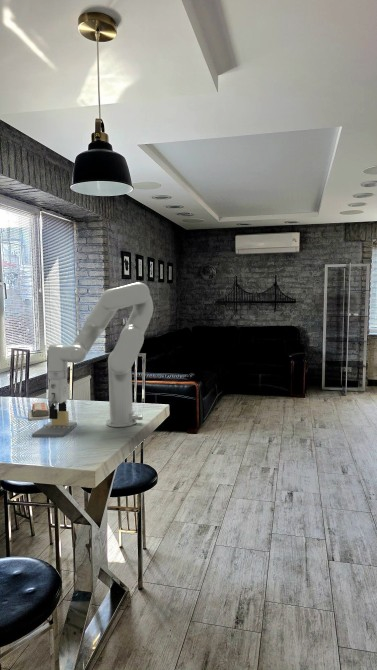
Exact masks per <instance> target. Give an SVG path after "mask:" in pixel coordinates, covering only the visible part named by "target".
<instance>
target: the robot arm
mask: <svg viewBox="0 0 377 670" xmlns="http://www.w3.org/2000/svg"><path fill="white" fill-rule="evenodd" d="M153 302H154V301H153V299H152V296H151V291H150V288H149V286H148V285H147V284H145V283H143V282H139V281H138V282H134V283H133V282H132V283H130V284H126V285H122V286H119V287H114V288H109V289H106V290H104V291H103V292H102V294H101V296H100V298H99V299H98V301H97V302H96V304H95V305H94V306H93V308H92V310H91V312H90V313H89V314H88V316H87V317H86V318H85V321H84V323H83V326H82V328H81V330H80V332H79V333H78V335H77V336H76V338H75V339H74V341H73V343H72V344H71V345H65V344H62V343H61V344H60V343H55V344H53V343H52V344H50V345H49V346H48V349H47V351H48V352H47V353H48V354H47V355H48V356H47V357H48V358H47V359H48V364H47V365H48V367H47V368H48V369H47V371H48V373H47V377H48V379H49V384H48V399H47V402H48V409H49V419H48V420H52V419H57V418H58V411H67V403H68V402H67V400H68V399H69V386H68V363H73V364H79V363H82V362H83V361H84V360H85V359H86V356H87V354H88V353H89V352H90V350H91V349H92V347H93V345H94V344H95V342H96V341H97V339H98V338H99V337H100V336H101V334H103V332H105V330H106V328H107V326H108V325H109V323H110V322H111V320H112V318H114V316H115V314H116V312H117V311H118V310H120V309H125V308H128V307H132V310H131V313H130V314H129V317H128V319H127V321H126V323H125V325H124V327H123V328H122V330H121V331H120V335H119V337H118V340H117V342H116V343H115V346H114V348H113V350H112V351H111V352H110V353H109V355H108V358H107V363H108V364H107V365H108V366H107V369H108V397H109V419H107V420H106V422H105V423H106V424H105V425H107V426H108V427H111V428H123V427H124V428H125V427H130V426H134V425H135V424H137V421H143V420H144V418H143V417H144V416H143V414H136V413H135V411H134V410H133V383H132V382H133V380H132V378H133V376H132V367H133V365H134V363H135V361H136V359H137V358H138V356H139V354H140V352H141V349H142V347H143V344H144V340H145V336H144V335H145V333H146V331H147V329H148V327H149V323H150V322H151V320H152V319H151V318H152V316H153V314H154V313H153V312H154V303H153Z"/></svg>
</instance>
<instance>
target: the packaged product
mask: <svg viewBox="0 0 377 670" xmlns="http://www.w3.org/2000/svg"><path fill="white" fill-rule="evenodd" d="M31 408H32V409H28V421H41V420H50V419H49V405H48V404H47V403H46V402H36V403H33V404H32V407H31Z"/></svg>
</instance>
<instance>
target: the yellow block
mask: <svg viewBox="0 0 377 670" xmlns="http://www.w3.org/2000/svg"><path fill="white" fill-rule="evenodd" d="M69 419H70V417H69V411H68V410H66V411H59V410H58V418H57V419H51V421H50V422H47V423H46V424H45V425H43V426H42V427H72V430H73V429H74V428H76V427H77V425H78V422H76V421H72V422H71V421H70V420H69Z"/></svg>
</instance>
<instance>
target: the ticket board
mask: <svg viewBox="0 0 377 670" xmlns="http://www.w3.org/2000/svg"><path fill="white" fill-rule="evenodd" d="M72 430H73V429H72V427H43V426H42V427H40V428H39V429H38V430H36V431H35V432H33V433H32V434H31V437H32V438H64V437H65V436H66V435H68V434H69V433H70V432H71V431H72Z"/></svg>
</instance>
